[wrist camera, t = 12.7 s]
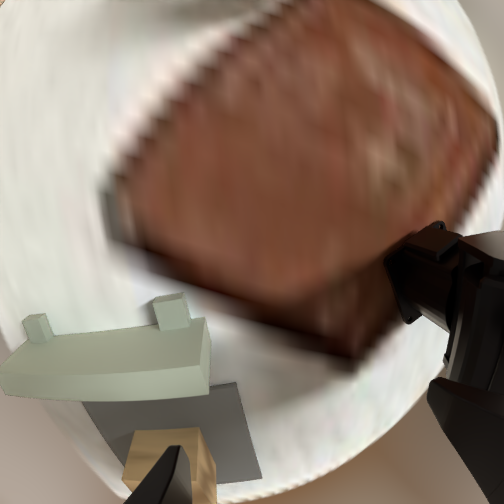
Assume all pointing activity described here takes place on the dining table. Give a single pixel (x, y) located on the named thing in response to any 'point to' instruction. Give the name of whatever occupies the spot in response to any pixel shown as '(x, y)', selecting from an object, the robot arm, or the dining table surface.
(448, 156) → the dining table surface
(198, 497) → the marked cube
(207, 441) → the charcoal pad
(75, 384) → the sage screen
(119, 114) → the dining table surface
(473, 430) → the robot arm
